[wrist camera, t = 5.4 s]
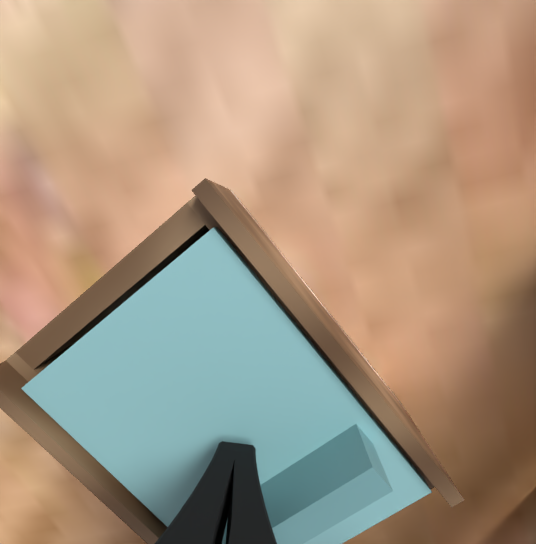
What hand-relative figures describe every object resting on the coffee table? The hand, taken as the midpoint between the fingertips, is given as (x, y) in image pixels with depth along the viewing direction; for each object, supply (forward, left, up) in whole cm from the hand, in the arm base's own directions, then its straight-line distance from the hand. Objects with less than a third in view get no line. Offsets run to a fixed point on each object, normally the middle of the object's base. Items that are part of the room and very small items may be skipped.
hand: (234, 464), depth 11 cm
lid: (0, 0, -1) cm, 1 cm away
